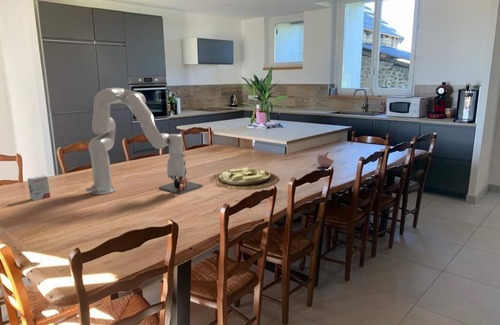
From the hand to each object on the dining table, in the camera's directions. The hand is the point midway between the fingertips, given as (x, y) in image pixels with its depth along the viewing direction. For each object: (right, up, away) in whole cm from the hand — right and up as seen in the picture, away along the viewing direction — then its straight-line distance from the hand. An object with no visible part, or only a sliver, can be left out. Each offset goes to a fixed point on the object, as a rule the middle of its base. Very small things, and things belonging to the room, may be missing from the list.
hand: (177, 187), depth 210 cm
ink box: (-72, -5, -10) cm, 73 cm away
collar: (+2, 0, +5) cm, 5 cm away
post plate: (+1, -1, +8) cm, 8 cm away
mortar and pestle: (+96, +11, +57) cm, 112 cm away
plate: (+38, +3, +26) cm, 46 cm away
